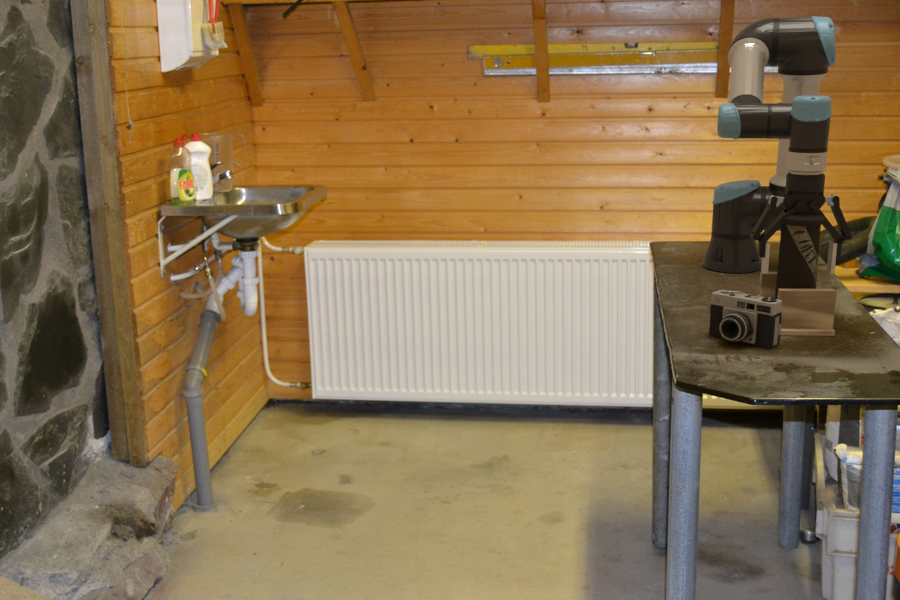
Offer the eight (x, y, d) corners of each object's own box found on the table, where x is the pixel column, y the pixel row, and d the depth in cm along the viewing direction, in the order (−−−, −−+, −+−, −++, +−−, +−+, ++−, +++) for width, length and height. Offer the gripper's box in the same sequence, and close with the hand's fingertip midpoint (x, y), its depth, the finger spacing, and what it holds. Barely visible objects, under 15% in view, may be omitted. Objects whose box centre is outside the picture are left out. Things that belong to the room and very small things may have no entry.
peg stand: (755, 308, 202) (758, 270, 200) (805, 309, 201) (809, 270, 199) (779, 335, 183) (782, 293, 181) (834, 335, 182) (838, 293, 180)
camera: (695, 338, 182) (699, 290, 179) (722, 331, 187) (727, 285, 185) (754, 355, 171) (759, 304, 169) (781, 347, 177) (786, 298, 174)
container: (794, 311, 185) (802, 216, 180) (763, 301, 193) (770, 210, 188) (825, 306, 189) (834, 212, 183) (794, 296, 197) (801, 206, 191)
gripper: (748, 175, 181) (741, 276, 187) (875, 174, 179) (864, 276, 184) (739, 170, 188) (733, 268, 194) (862, 169, 186) (852, 268, 192)
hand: (797, 272), depth 189 cm, fingers open, 13 cm apart
